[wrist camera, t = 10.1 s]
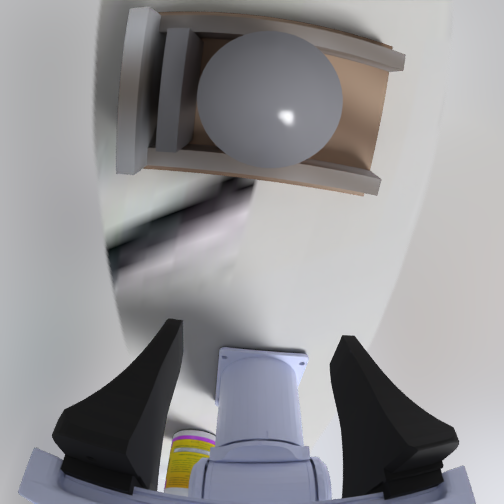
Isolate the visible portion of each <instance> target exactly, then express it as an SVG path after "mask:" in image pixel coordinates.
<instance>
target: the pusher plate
mask: <svg viewBox="0 0 504 504" xmlns="http://www.w3.org/2000/svg"><path fill="white" fill-rule="evenodd" d="M203 45H204V42H203V41H202V40H201V39H200V38H199V37H198V36H197V35H196V34H195V33H194V32H193V31H192V30H191V29H190V28H168V30H167V37H166V43H165V51H164V58H163V67H162V75H161V85H160V95H159V106H158V119H157V134H156V151H157V152H173V153H177V152H178V151H179V150H180V149H182V148H183V147H184V146H185V145H187V144H188V143H189V142H191V141H192V140H193V131H194V120H195V110H196V101H197V91H198V83H199V75H200V67H201V60H202V52H203Z"/></svg>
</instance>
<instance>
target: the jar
mask: <svg viewBox="0 0 504 504" xmlns="http://www.w3.org/2000/svg"><path fill="white" fill-rule="evenodd" d="M197 107H198V112H199V116H200V119H201V123H202V125H203V127H204V129H205V131H206V133H207V134H208V136H209V137H210V139H211V140H212V141H213V142H214V143H215V145H216V146H217V147H219V148H220V149H221V150H222V151H223V152H224V153H226V154H227V155H229V156H230V157H232V158H234V159H235V160H237V161H239V162H242V163H245V164H247V165H251V166H255V167H261V168H281V167H287V166H291V165H294V164H297V163H300V162H302V161H304V160H306V159H308V158H310V157H311V156H313V155H314V154H316V153H317V152H318V151H319V150H321V149H322V148H323V147H324V146H325V145H326V143H327V142H328V141H329V140H330V139H331V137H332V135H333V134H334V132H335V130H336V128H337V126H338V124H339V121H340V117H341V113H342V107H343V95H342V88H341V84H340V80H339V78H338V75H337V73H336V71H335V69H334V67H333V65H332V64H331V62H330V61H329V60H328V58H327V57H326V56H325V55H324V54H323V53H322V52H321V51H320V50H319V49H318V48H316V47H315V46H314V45H313V44H311V43H309V42H308V41H306V40H304V39H302V38H300V37H297V36H295V35H292V34H288V33H285V32H278V31H260V32H254V33H249V34H246V35H243V36H240V37H238V38H236V39H234V40H232V41H230V42H228V43H227V44H226V45H224V46H223V47H222V48H220V49H219V50H218V51H217V52H216V53H215V54H214V55H213V57H212V58H211V59H210V60H209V62H208V63H207V65H206V67H205V68H204V70H203V73H202V75H201V78H200V81H199V85H198V91H197Z"/></svg>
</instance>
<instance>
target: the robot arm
mask: <svg viewBox="0 0 504 504" xmlns="http://www.w3.org/2000/svg"><path fill="white" fill-rule="evenodd" d="M182 356H183V320H176V319H168V320H166V322H165V323H164V325H163V326H162V328H161V329H160V331H159V332H158V333H157V335H156V336H155V337H154V338H153V340H152V341H151V342H150V343H149V345H148V346H147V347H146V348H145V349H144V350H143V352H142V353H141V354H140V355H139V356H138V357H137V358H136V359H135V360H134V361H133V362H132V363H131V364H130V365H129V366H128V367H127V368H126V369H125V370H124V371H123V372H122V373H121V374H119V375H118V376H117V377H116V378H115V379H113V380H112V381H111V382H110V383H108V384H107V385H106V386H104V387H103V388H102V389H100V390H99V391H97V392H95V393H94V394H92V395H91V396H89V397H88V398H86V399H84V400H82V401H80V402H78V403H77V404H75V405H73V406H71V407H69V408H67V409H65V410H64V411H63V413H62V414H61V416H60V418H59V419H58V422H57V424H56V427H55V429H54V431H53V434H52V438H53V440H54V441H55V443H56V444H57V445H58V447H59V448H60V449H61V450H62V451H63V452H64V454H65V457H64V460H62V459H60V458H59V457H57V456H54V455H52V454H50V453H47V452H45V451H42V450H40V449H38V448H34V449H33V452H32V454H31V457H30V459H29V462H28V465H27V468H26V470H25V473H24V476H23V479H22V482H21V484H20V487H19V491H18V493H19V495H21V496H23V497H24V498H26V499H27V500H29V501H30V502H32V503H34V504H476V502H475V499H474V495H473V492H472V488H471V485H470V482H469V479H468V476H467V473H466V470H465V467H464V466H460V467H457V468H454V469H451V470H448V471H446V472H444V473H441V468H443V463H442V460H444V459H445V458H446V457H447V456H448V455H450V454H451V453H452V452H453V451H454V450H455V449H456V448H457V447H458V445H459V440H458V437H457V435H456V432H455V430H454V428H453V427H452V426H450V425H448V424H446V423H444V422H442V421H440V420H438V419H436V418H435V417H434V416H432V415H430V414H429V413H427V412H426V411H424V410H423V409H422V408H420V407H419V406H418V405H416V404H415V403H414V402H413V401H412V400H410V399H409V398H408V397H407V396H406V395H405V394H403V392H401V391H400V390H399V389H398V388H397V387H396V386H395V385H394V384H393V383H392V382H391V380H390V379H389V378H388V377H387V376H386V375H385V374H384V373H383V371H382V370H381V369H380V368H379V367H378V365H377V364H376V363H375V362H374V360H373V359H372V358H371V357H370V355H369V354H368V353H367V351H366V350H365V349H364V348H363V346H362V345H361V344H360V342H359V341H358V340H357V339H356V337H355V336H347V335H342V337H341V340H340V342H339V344H338V347H337V349H336V351H335V353H334V356H333V358H332V360H331V362H330V376H331V385H332V389H333V394H334V398H335V403H336V407H337V412H338V416H339V421H340V427H341V435H342V448H343V491H342V499H334V500H332V494H331V482H330V476H329V471H328V468H327V466H326V465H325V463H324V462H322V461H321V460H320V458H318V457H310V452H309V446H304V441H303V432H302V422H301V413H300V403H299V394H298V386H299V383H300V381H301V378H302V376H303V373H304V371H305V368H306V365H307V363H308V360H309V357H308V355H307V354H301V353H285V352H271V351H259V350H248V349H238V348H229V347H223V348H221V349H220V351H219V362H218V373H217V385H216V397H215V405H216V406H219V407H218V418H217V429H216V440H215V447H211V448H210V457H209V458H201V459H200V460H199V461H198V462H197V463H196V464H195V465H194V466H193V468H192V471H191V475H190V480H189V488H188V497H186V496H179V495H173V494H168V493H162V492H157V485H158V475H159V466H160V457H161V450H162V443H163V436H164V430H165V424H166V418H167V414H168V410H169V406H170V403H171V400H172V396H173V393H174V389H175V386H176V383H177V379H178V376H179V372H180V367H181V362H182Z"/></svg>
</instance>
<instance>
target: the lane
mask: <svg viewBox="0 0 504 504" xmlns="http://www.w3.org/2000/svg"><path fill="white" fill-rule="evenodd" d="M168 28H190V29H191V30H192V31H193V32H194V33H195V34H196V35H197V36H198V37H199V38H200V39H201V40H202V41H203V42H204V45H203V52H202V60H201V67H200V75H199V81H200V78H201V75H202V73H203V70H204V68H205V67H206V65H207V63H208V62H209V60H210V59H211V58H212V57H213V55H214V54H215V53H216V52H217V51H218V50H219V49H220V48H222V47H223V46H224V45H226V44H227V43H228V42H230V41H232V40H234V39H236V38H238V37H240V36H243V35H246V34H249V33H254V32H260V31H278V32H285V33H288V34H292V35H295V36H297V37H300V38H302V39H304V40H306V41H308V42H309V43H311V44H313V45H314V46H315V47H316V48H318V49H319V50H320V51H321V52H322V53H323V54H324V55H325V56H326V57H327V58H328V60H329V61H330V62H331V64H332V65H333V67H334V69H335V71H336V73H337V75H338V78H339V80H340V84H341V88H342V95H343V107H342V113H341V117H340V121H339V124H338V126H337V128H336V130H335V132H334V134H333V135H332V137H331V139H330V140H329V141H328V142H327V143H326V145H325V146H324V147H323V148H322V149H321V150H319V151H318V152H317V153H316V154H314V155H313V156H311V157H310V158H308V159H306V160H304V161H302V162H300V163H297V164H294V165H291V166H287V167H281V168H261V167H255V166H251V165H247V164H245V163H242V162H239V161H237V160H235V159H234V158H232V157H230V156H229V155H227V154H226V153H224V152H223V151H222V150H221V149H220V148H219V147H217V146H216V145H215V143H214V142H213V141H212V140H211V139H210V137H209V136H208V134H207V133H206V131H205V129H204V127H203V125H202V123H201V119H200V116H199V112H198V107H197V101H196V110H195V120H194V131H193V140H192V141H191V142H189V143H188V144H187V145H185V146H184V147H183V148H182V149H180V150H179V151H178V152H177V153H173V152H157V151H156V134H157V119H158V106H159V95H160V85H161V75H162V67H163V58H164V51H165V43H166V37H167V30H168ZM404 62H405V54H402V53H399V52H397V51H394V50H392V46H389V45H386V44H383V43H380V42H377V41H374V40H371V39H368V38H364V37H361V36H358V35H354V34H350V33H347V32H343V31H339V30H335V29H331V28H327V27H322V26H318V25H313V24H308V23H303V22H298V21H292V20H286V19H280V18H273V17H266V16H257V15H248V14H237V13H222V12H156V11H155V10H154V9H152V8H151V7H138V8H130V10H129V16H128V21H127V28H126V34H125V41H124V48H123V56H122V65H121V75H120V86H119V98H118V115H117V142H116V174H130V175H135V174H136V173H137V172H139V171H140V170H141V169H158V170H171V171H183V172H194V173H204V174H214V175H224V176H233V177H241V178H249V179H257V180H265V181H272V182H280V183H287V184H293V185H300V186H306V187H313V188H319V189H325V190H331V191H337V192H342V193H348V194H353V195H359V196H364V193H366V194H371V195H376V196H377V195H378V191H379V187H380V183H381V179H380V178H379V177H378V176H376V175H375V174H374V173H372V172H371V171H370V168H371V163H372V159H373V154H374V150H375V145H376V141H377V136H378V131H379V126H380V121H381V116H382V111H383V105H384V100H385V94H386V88H387V82H388V75H389V72H394V71H403V70H404ZM198 85H199V83H198Z"/></svg>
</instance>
